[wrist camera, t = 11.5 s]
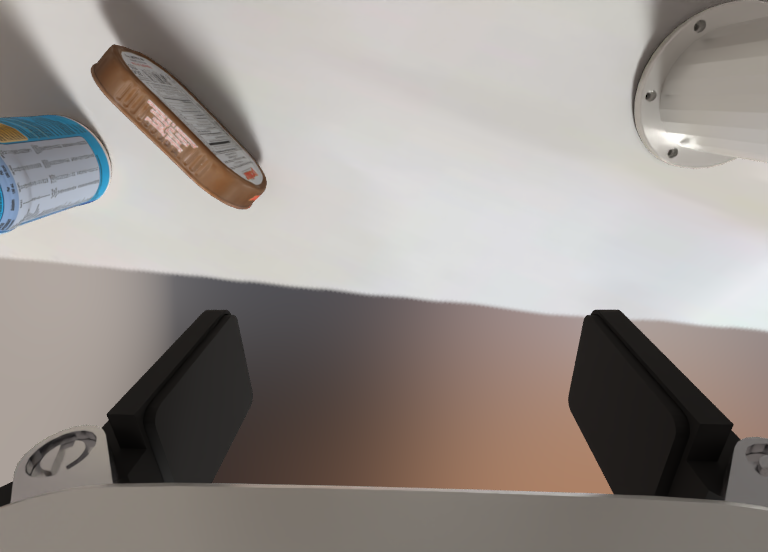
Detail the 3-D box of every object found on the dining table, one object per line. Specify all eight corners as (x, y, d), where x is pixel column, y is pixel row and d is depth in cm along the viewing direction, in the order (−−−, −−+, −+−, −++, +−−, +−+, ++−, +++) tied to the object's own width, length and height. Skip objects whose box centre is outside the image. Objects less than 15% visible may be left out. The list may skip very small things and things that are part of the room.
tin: (132, 71, 35) (58, 63, 27) (153, 44, 34) (82, 27, 26) (261, 199, 39) (227, 224, 32) (282, 178, 38) (253, 198, 31)
